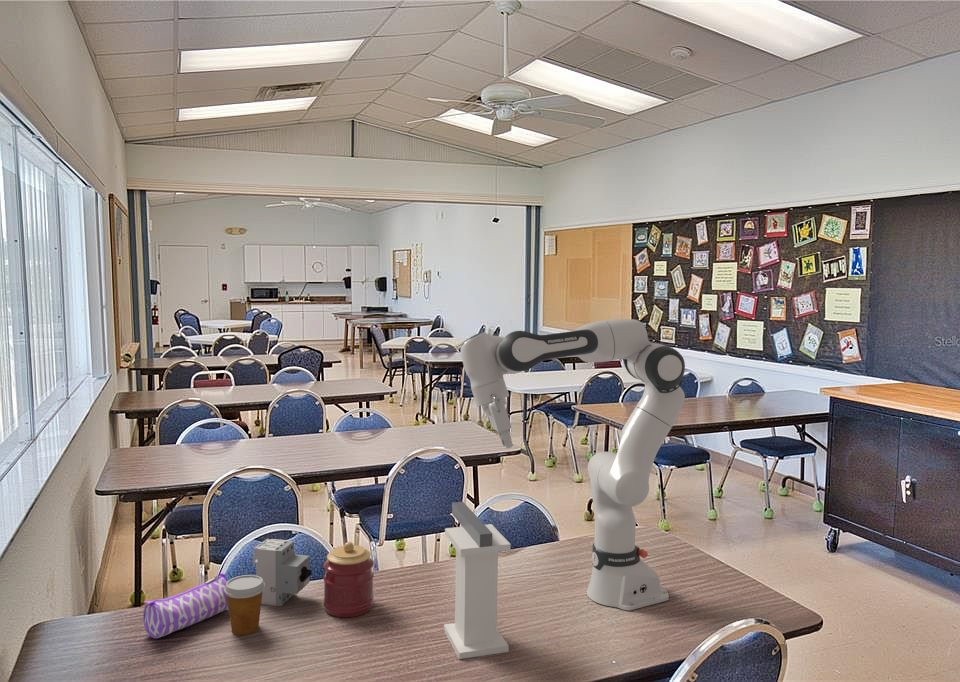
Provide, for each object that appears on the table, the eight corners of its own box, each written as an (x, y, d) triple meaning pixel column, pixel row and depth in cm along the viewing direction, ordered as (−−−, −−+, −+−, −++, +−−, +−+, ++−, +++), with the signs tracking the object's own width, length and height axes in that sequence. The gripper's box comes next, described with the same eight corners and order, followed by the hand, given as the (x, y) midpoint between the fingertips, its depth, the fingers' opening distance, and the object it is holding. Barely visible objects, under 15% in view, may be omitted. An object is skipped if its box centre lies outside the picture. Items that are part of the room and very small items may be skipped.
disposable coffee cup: (273, 623, 178) (272, 577, 177) (249, 641, 169) (248, 593, 168) (241, 617, 181) (240, 571, 180) (216, 634, 172) (215, 586, 171)
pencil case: (215, 601, 190) (215, 567, 189) (238, 610, 185) (238, 575, 184) (138, 636, 171) (137, 598, 170) (162, 647, 166) (161, 608, 166)
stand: (489, 623, 180) (491, 524, 178) (508, 651, 167) (510, 544, 164) (443, 630, 176) (445, 528, 174) (459, 659, 163) (460, 549, 161)
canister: (328, 622, 180) (327, 554, 178) (320, 600, 192) (319, 536, 190) (378, 614, 184) (378, 548, 183) (367, 593, 196) (367, 531, 195)
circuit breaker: (303, 608, 187) (302, 553, 185) (253, 602, 189) (252, 548, 188) (315, 596, 194) (315, 543, 193) (267, 590, 197) (266, 538, 195)
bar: (463, 512, 186) (463, 501, 186) (492, 546, 163) (492, 533, 163) (451, 513, 185) (452, 502, 185) (479, 547, 162) (480, 534, 162)
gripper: (505, 390, 173) (523, 444, 172) (500, 392, 194) (516, 440, 193) (481, 398, 173) (499, 452, 172) (478, 399, 193) (494, 448, 192)
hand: (508, 446), depth 183 cm, fingers open, 8 cm apart
